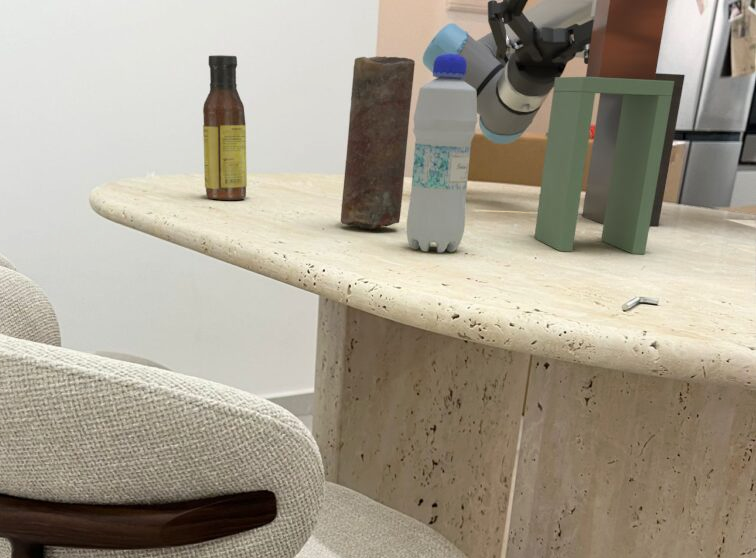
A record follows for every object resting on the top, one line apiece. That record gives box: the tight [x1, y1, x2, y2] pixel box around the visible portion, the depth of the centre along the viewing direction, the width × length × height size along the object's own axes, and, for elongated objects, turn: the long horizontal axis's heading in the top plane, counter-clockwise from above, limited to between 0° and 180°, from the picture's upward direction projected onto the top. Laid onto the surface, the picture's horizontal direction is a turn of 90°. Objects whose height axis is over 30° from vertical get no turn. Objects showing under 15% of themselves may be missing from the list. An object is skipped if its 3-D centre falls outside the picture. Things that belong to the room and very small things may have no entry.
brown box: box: [585, 0, 669, 80], centre depth 109 cm, size 6×18×11 cm, turn 174°
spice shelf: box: [581, 72, 686, 227], centre depth 134 cm, size 8×9×20 cm
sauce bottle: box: [202, 54, 248, 201], centre depth 138 cm, size 7×6×20 cm
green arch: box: [534, 76, 674, 255], centre depth 109 cm, size 10×10×18 cm
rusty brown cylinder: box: [340, 56, 416, 230], centre depth 114 cm, size 8×7×20 cm
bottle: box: [406, 54, 478, 254], centre depth 101 cm, size 7×7×20 cm
